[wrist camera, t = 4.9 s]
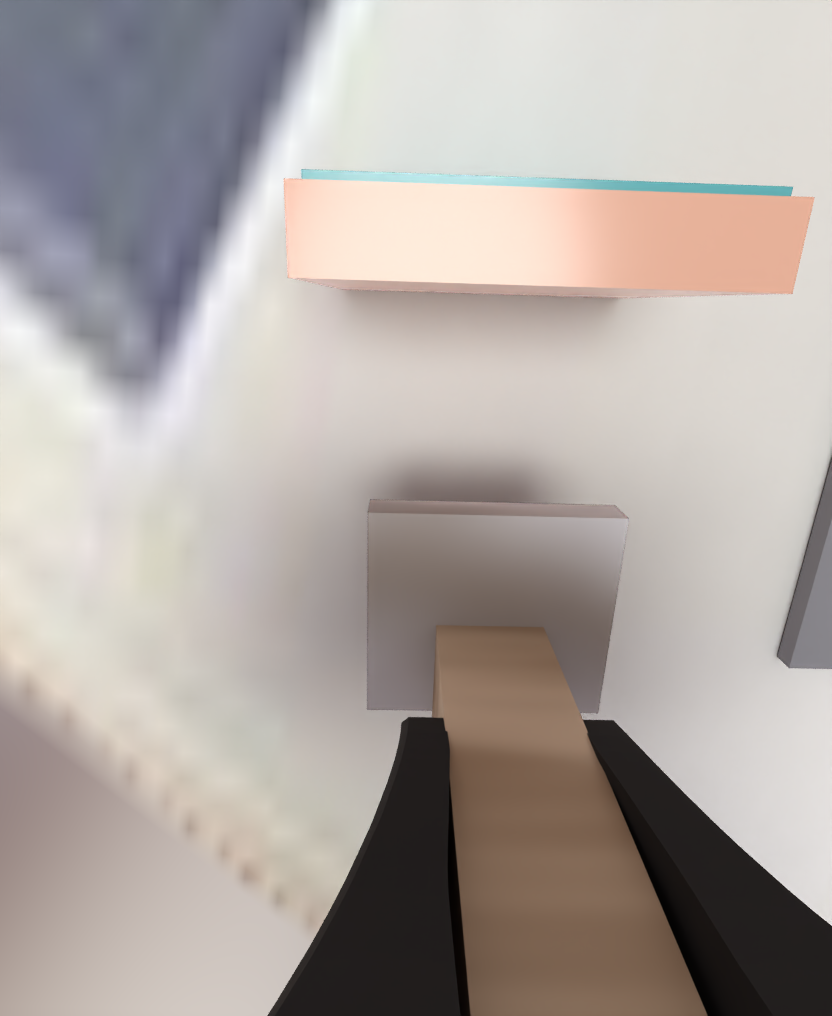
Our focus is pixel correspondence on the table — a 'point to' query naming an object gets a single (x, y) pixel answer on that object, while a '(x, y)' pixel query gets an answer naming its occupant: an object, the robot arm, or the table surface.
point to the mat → (813, 597)
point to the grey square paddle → (522, 750)
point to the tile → (541, 235)
